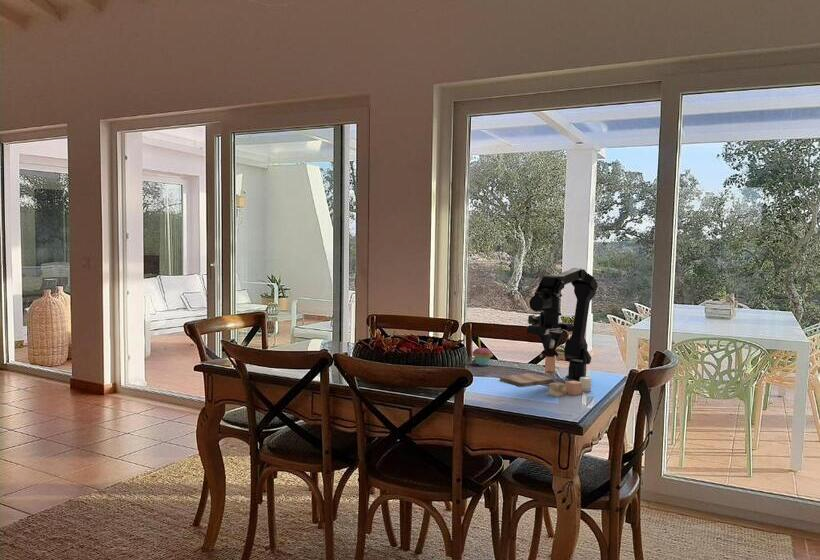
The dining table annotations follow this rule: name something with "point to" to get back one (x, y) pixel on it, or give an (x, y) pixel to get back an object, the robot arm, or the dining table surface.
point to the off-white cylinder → (586, 384)
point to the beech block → (557, 389)
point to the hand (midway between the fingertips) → (549, 351)
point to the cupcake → (482, 355)
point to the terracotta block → (573, 387)
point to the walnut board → (526, 379)
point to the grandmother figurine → (550, 358)
